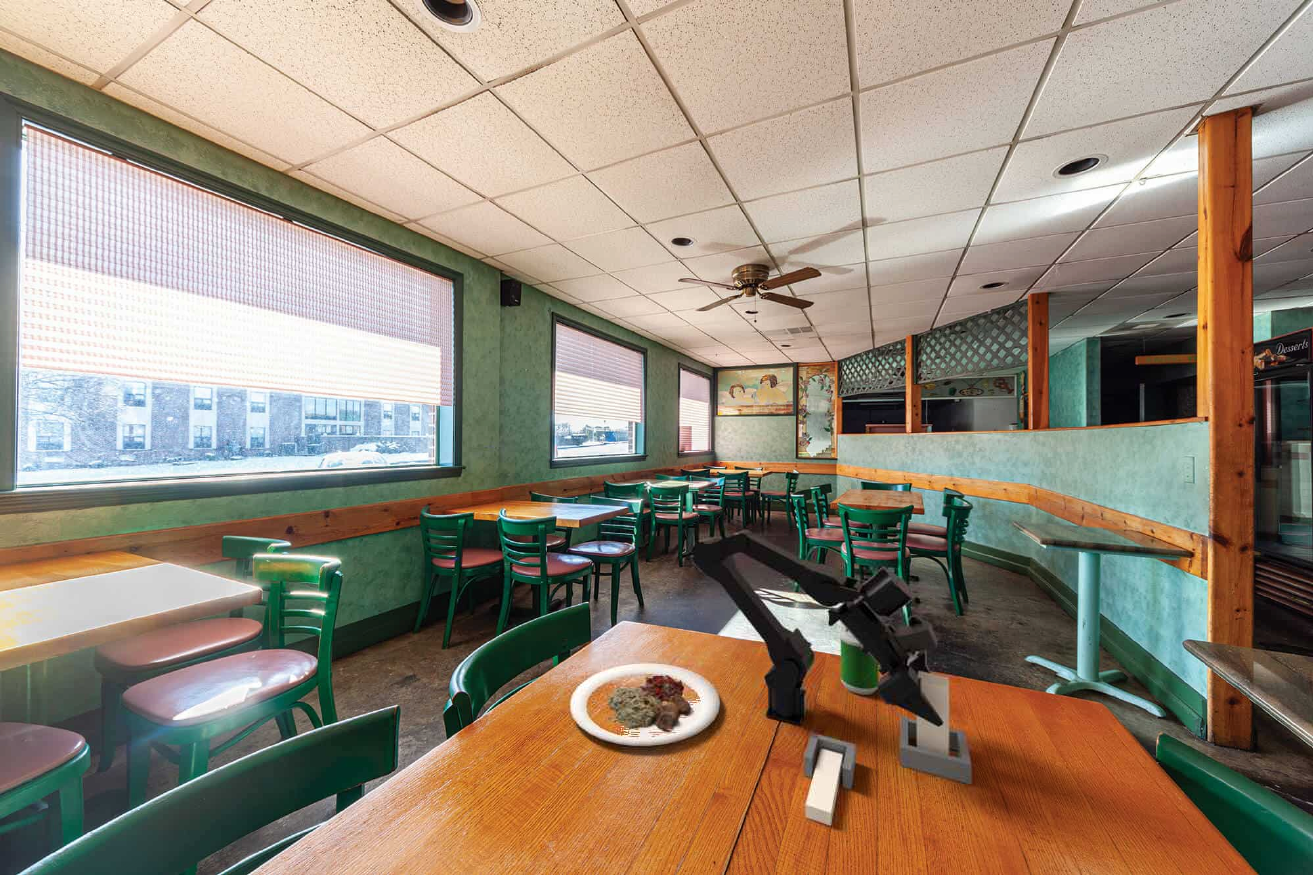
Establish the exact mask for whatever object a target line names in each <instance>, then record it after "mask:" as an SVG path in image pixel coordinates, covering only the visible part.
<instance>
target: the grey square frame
mask: <svg viewBox="0 0 1313 875" xmlns="http://www.w3.org/2000/svg"><path fill="white" fill-rule="evenodd" d="M899 719H900V724H899V725H900V726H899V727H900V728H899V766H901V767H904V768H908V769H912V770H914V771H915V770H916V771H919V772H923V773H926V774H930V775H934V776H937V777H941V778H945V779H948V780H952V781H956V782H960V783H964V784H966V785H970V786H972V784H973V783H972V782H973V781H972V779H973V778H972V776H973V775H972V774H973V773H972V762H971V757H970V752H969V747H968V741H967V737H966V732H965V731H964V730H961V729H956V728H951V727H949V750H954V751H957V756H953V755H950V754H949V755H945V754H941V753H937V752H933V751H929V750H926V749H922V748H918V747H917V746H913V745H909V740H913V741H917V719H913V718H909V717H905V716H900V718H899Z"/></svg>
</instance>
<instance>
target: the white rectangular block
mask: <svg viewBox="0 0 1313 875" xmlns="http://www.w3.org/2000/svg"><path fill="white" fill-rule="evenodd" d="M919 678H921V684H922V692H923V694H924V695H925V696H926V698H927V699H928V701H929V702H930V703H931V705H932V706H933V707H934V709H935V710H936V712H937V713H938V715H939V716H940V718H941V719H942V721H943V725H941V726H939V727H938V726H936V725H934V724H932V723H930V722H928V721H927V720H925V719H923V718H921V717H919V716H917V715H916V720H917V740H916V747H918V748H922V749H926V750H929V751H933V752H937V753H941V754H945V755H949V756H950V749H949V728H950V695H949V694H950V692H949V690H950V687H949V686H950V685H949V684H950V683H949V681H950V680H949V679H950V678H949V677H947V676H943V675H939V674H934V673H932V674H930V673H926V672H922V671H918V679H919Z"/></svg>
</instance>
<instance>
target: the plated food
mask: <svg viewBox="0 0 1313 875" xmlns="http://www.w3.org/2000/svg"><path fill="white" fill-rule="evenodd" d="M642 674H653V675H656V676H652V678H650V677H649V678H648V677H646V680H645V681H646V682H645V683H644V685H642V686H638V687H631V688H627V687H620V688H618V689H616V690H615V692H614V693H613V695H609V696H610V697H609V699H608V700H609V701H608V703H607V704H608V705H610V709H611V710H613V711H616V714H615V715H616V716H612V717H610V718H607V719H611V718H613V717H615V718H616V719H618V720H613V722H616V721H619V722H620V723H621V724H622V725H624V726H622V727H627V728H626V729H630V730H623V731H626V732H628V731H629V733H630V734H628V733H624V734H628V735H622V736H621V735H617V734H614V733H611V732H608V731H606V730H604V729H602V728H600V727H599V726H598V725H596V724H595V723H594V722H593V721H592V720H591V719H590V717H589V715H588V713H587V701H588V698H589V696H591V694H592V692H594V691H595V690H596V689H598V687H600V686H602V685H603V684H605V683H608V682H609V681H612V680H613V679H617V678H619V677H624V676H626V675H642ZM657 675H658V676H657ZM660 675H662V676H660ZM674 679H677V680H678V682H677V681H675V680H674ZM682 683H685V684H686V685H688V686H689V687H691V689H693V690H695V692H697V694H698V696H699V697H700V699H696V700H701V701H699V702H698V701H692V702H697V703H689V702H690V701H688V702H687V701H686V700H685V698H684V697H682V694H683V690H684V685H683V684H682ZM619 690H621V691H619ZM663 701H667V702H668V703H666V704H665V705H662V702H663ZM569 702H570V706H569V707H570V708H569V709H570V714H571V716H572V718H573V720H574V721H575V723H576V724H577V725H578V726H579V727H580V728H581V729H582V730H584V731H585V732H587V733H588V734H589V735H591V736H594V737H596V738H598V739H600V740H603V741H607V742H610V743H615V744H618V745H625V746H626V745H627V746H632V747H633V746H635V747H636V746H643V747H647V746H648V747H649V746H657V745H658V746H659V745H660V746H661V745H667V744H670V743H671V744H672V743H676V742H680V741H682V740H685V739H687V738H691V737H693V736H695V735H697V734H699V733H700V732H702V731H703V730H705V729H706V728H708V727H709V726H710V724H711V723H712V722H713V721H715V718H716V717H717V715H718V713H720V712H719V710H720V705H721V701H720V696H719V693H718V691H717V690H716V688H715V686H714V685H713V684H712V683H711V682H710V681H709V680H708V679H706V678H704V677H703V676H702V675H700V674H698V673H696V672H694V671H692V670H689V669H686V668H683V667H679V666H676V665H675V666H674V665H670V664H662V663H661V664H660V663H634V664H633V663H632V664H625V665H620V666H616V667H612V668H608V669H605V670H603V671H600V672H597V673H596V674H593V675H592V676H590V677H588V678H587V679H586V680H584V681H583V682H582V683H581V684H579V685H578V686H577V688H576V689H575V690H574V691H573V694H572V696H571V699H570V701H569ZM690 704H693V705H690ZM612 707H613V708H612ZM691 711H694V712H691ZM692 713H693V714H692ZM680 715H684V716H680ZM679 717H686V718H679ZM678 719H679V720H678ZM616 724H617V723H616ZM652 725H654V726H652ZM621 729H622V728H621ZM635 729H639V730H635ZM661 729H662V730H661ZM668 729H672V730H668ZM621 731H622V730H621ZM631 732H640V733H631ZM649 732H676V733H649ZM631 734H638V735H631ZM653 734H660V735H653ZM629 736H630V737H629ZM631 736H639V737H631ZM652 736H655V737H652Z"/></svg>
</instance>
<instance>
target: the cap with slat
mask: <svg viewBox="0 0 1313 875" xmlns="http://www.w3.org/2000/svg"><path fill="white" fill-rule="evenodd" d="M805 749H806V750H805V752H804V755H803V769H804V770H803V775H804V776H805V777H808V778H812V780H811V783H810V787H809V790H808V794H807V797H806V801H805V806H804V807H805V818H807V819H810V820H812V821H815V822H818V823H821V824H824V825H827V826H830V827H831V826H832V821H833V816H834V812H835V807H836V802H837V796H838V791H839V786H840V782H841V776H842V788H844V789H848V790H850V791H852V787H853V782H854V781H853V780H854V775H855V770H856V769H855V767H856V744H854V743H851V742H847V741H843V740H839V739H838V738H837V739H836V738H832V737H829V736H824V735H821V734H817V733H814V732H811V734H810V736H809V740H808V743H807V745H806V748H805Z"/></svg>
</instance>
